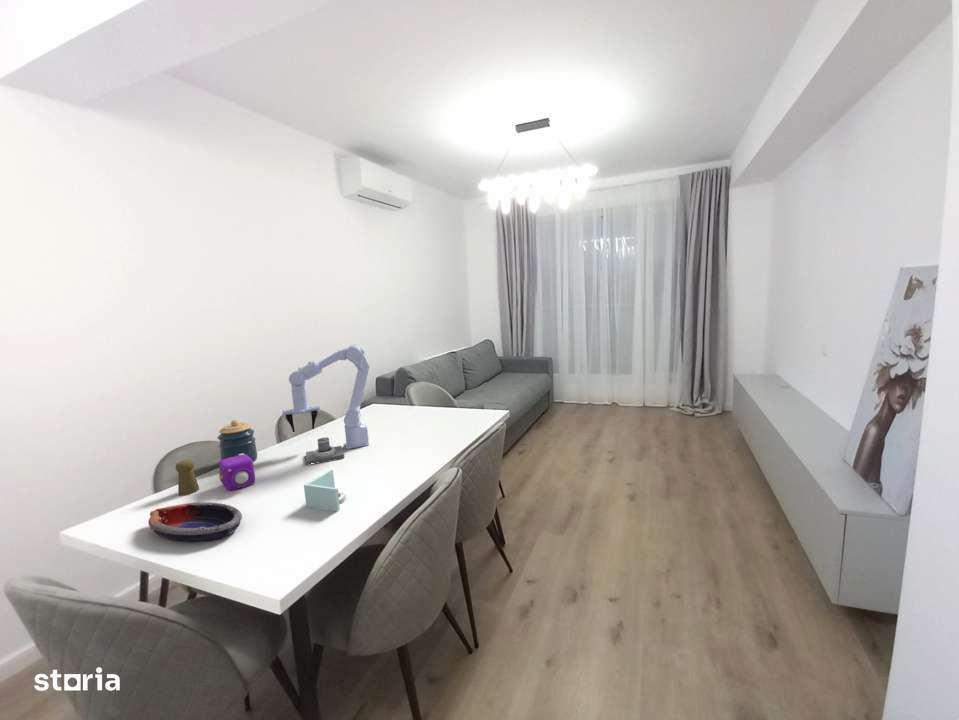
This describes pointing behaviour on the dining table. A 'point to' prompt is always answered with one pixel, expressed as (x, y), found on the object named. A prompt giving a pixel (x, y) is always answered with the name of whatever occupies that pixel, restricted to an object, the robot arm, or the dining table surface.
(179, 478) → the olive chess piece
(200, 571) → the dining table surface
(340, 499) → the right angle wall
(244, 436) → the canister
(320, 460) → the grey flat piece
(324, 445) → the lens
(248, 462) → the toy camera
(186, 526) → the dish
